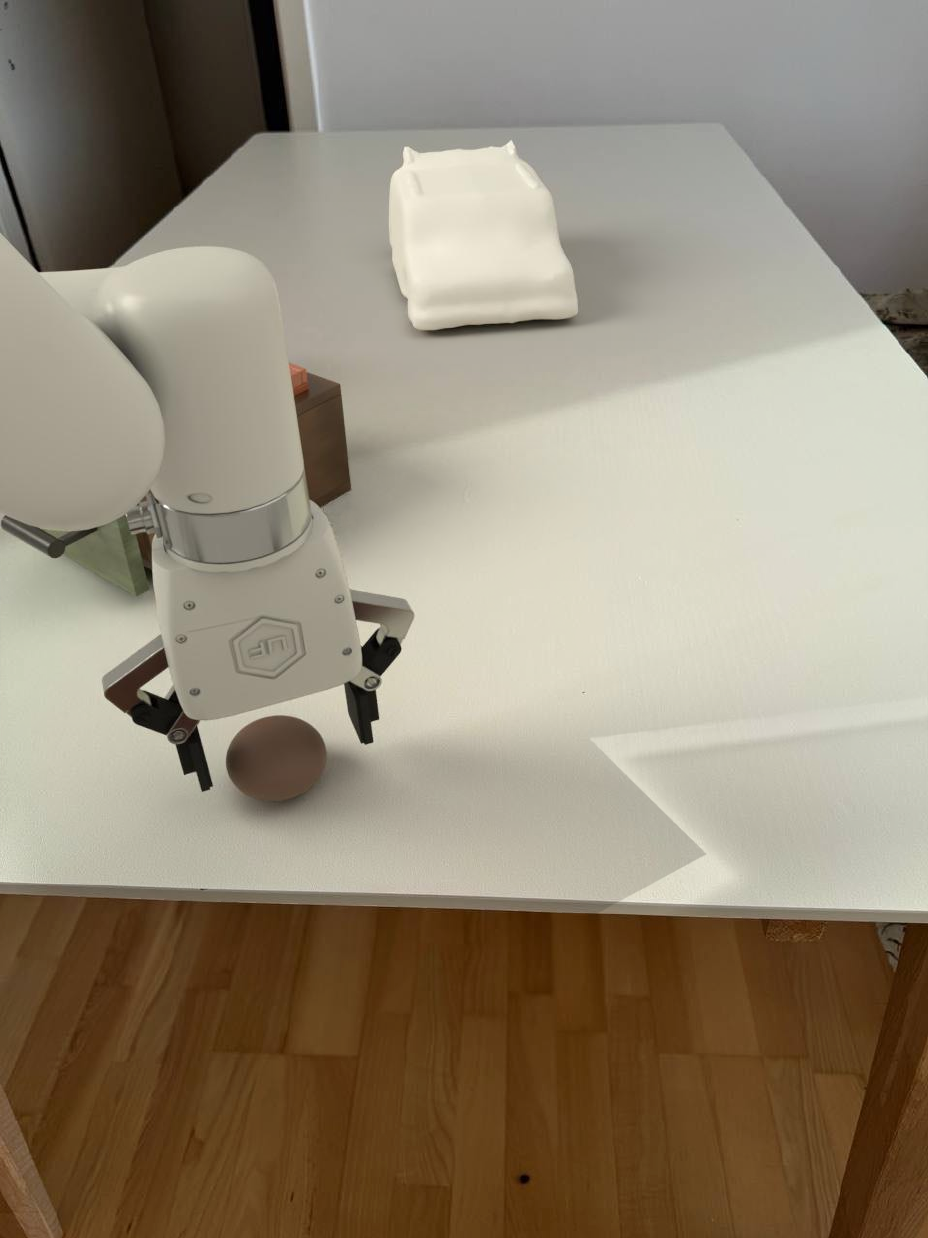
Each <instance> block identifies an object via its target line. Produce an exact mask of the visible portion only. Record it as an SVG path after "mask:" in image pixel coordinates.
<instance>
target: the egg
mask: <svg viewBox="0 0 928 1238" xmlns="http://www.w3.org/2000/svg"><path fill="white" fill-rule="evenodd" d="M327 753H328V752H327V746H326V743H325V741H324V738H323V737H322V735H321V734H320V732H319V731H318V730H317V728H315V727H314V726H313V725H312V724H310V722H309V723H308V722H307V721H305V720H303V719H301V718H298V717H295V716H292V715H283V714H281V715H280V714H279V715H278V714H277V715H275V714H274V715H269V716H268V715H267V716H264V717H261V718H258V719H256V720H253V721H251V722H249V723H248V724H247V725H245V726H244V727H242V728H241V729H240V730H239V731H238V732H237V733H236V734H235V736H234V737H233V738H232V740H231V742H230V743H229V745H228V748H227V751H226V754H225V769H226V773H227V774H228V777H229V780H230V781H231V783H232V784H233V785H234V786H235V787H236V788H237V789H238V790H239V791H240V792H241V793H243V794H244V795H246V796H248V797H250V798H253V799H255V800H258V801H259V800H260V801H264V802H282V801H286V800H290V799H293V798H296V797H298V796H300V795H302V794H304V793H305V792H307V791H308V790H310V789H311V788H312V787H313V786H314V785H315V784H316V783H317V782H318V780H319V779H320V778H321V776H322V774H323V772H324V770H325V767H326V765H327V758H328V757H327V756H328V754H327Z"/></svg>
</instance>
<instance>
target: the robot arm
mask: <svg viewBox="0 0 928 1238" xmlns="http://www.w3.org/2000/svg"><path fill="white" fill-rule="evenodd" d="M282 315H283V314H282V309H281V304H280V299H279V294H278V289H277V285H276V282H275V280H274V277H273V275H272V274H271V272H270V271H269V269H268V268H267V267H266V265H265V264H264V263H263V262H262V261H261V260H260V259H258V258H257V257H256V256H254V255H252V254H250V253H248V252H245V251H243V250H242V249H241V250H240V249H236V248H231V247H227V246H215V245H195V246H194V245H193V246H183V247H182V246H181V247H176V248H170V249H166V250H161V251H158V252H155V253H152V254H148V255H146V256H143V257H140V258H139V259H136V260H134V261H132V262H130V263H129V264H126V265H123V266H114V267H105V268H92V269H79V270H76V269H75V270H60V271H38V270H37V269H36V268H35V267H34V266H33V265H32V264H31V263H30V262H29V261H28V260H27V258H25V257H24V256H23V255H22V254H21V253H20V252H19V251H18V249H16V247H15V246H14V245H13V244H12V243H11V242H10V241H9V240H8V239H7V238H6V237H5V236H4V234H3V233H1V232H0V513H1V514H3V515H4V516H5V515H6V516H8V517H11V518H13V519H15V520H18V521H20V522H23V523H25V524H27V525H31V526H35V527H39V528H40V529H41V528H43V529H47V530H56V531H78V530H88V529H91V528H95V527H99V526H102V525H106V524H108V523H110V522H112V521H114V520H116V519H118V518H120V517H122V516H123V515H125V514H126V518H127V521H128V525H129V529H130V532H131V535H133V534H138V533H142V532H147V534H150V533H156V534H155V536H154V538H153V541H152V570H151V571H152V572H151V573H152V585H153V591H154V598H155V608H156V615H157V619H158V624H159V630H160V634H159V635H157V636H156V637H155V638H153V639H152V640H150V641H149V642H147V644H145V645H143V646H142V647H141V648H140V649H138V650H137V651H135V652H133V654H131V655H130V656H129V657H127V658H126V659H125V660H123V661H122V662H120V663H119V664H118V665H116V666H115V667H114V668H112V669H111V670H110V671H108V672H107V673H105V674H104V675H103V677H102V678H101V684H102V690H103V696H104V698H105V699H106V700H107V701H108V702H110V703H111V704H112V705H113V706H115V707H116V708H117V709H119V710H120V711H121V712H122V713H124V714H126V715H128V716H129V717H130V718H131V720H132V722H133V723H134V724H135V725H137V726H139V727H141V728H145V729H148V730H151V731H152V732H156V733H159V734H161V735H164V736H166V738H167V741H168V742H169V743H170V744H172V745H174V746H175V747H176V748H175V749H176V752H177V756H178V758H179V759H178V760H179V763H180V766H181V769H182V773H183V775H184V776H186V775H189V774H193V773H195V774H196V776H197V780H198V784H199V788H200V791H201V793H203V792H207V791H210V790H211V788H213V787H214V783H213V781H212V776H211V772H210V769H209V765H208V761H207V758H206V753H205V750H204V745H203V743H202V742H203V741H202V739H201V738H202V737H201V735H200V731H199V727H198V726H199V724H200V722H201V721H205V722H206V721H215V720H220V719H225V718H229V717H233V716H237V715H240V714H244V713H249V712H251V711H255V710H259V709H262V708H267V707H270V706H274V705H277V704H280V703H281V704H282V703H285V702H288V701H292V700H296V699H299V698H303V697H306V696H310V695H314V694H317V693H321V692H325V691H327V690H330V689H334V688H337V687H340V686H342V685H343V687H344V695H345V700H346V708H347V713H348V717H349V719H350V722H351V724H352V726H353V729H354V731H355V733H356V736H357V738H358V740H359V743H360V744H361V745H362V744H364V745H365V746H366V745H370V744H373V743H374V735H373V726H372V722H376V721H379V720H380V712H379V704H378V695H377V689H379V688H380V686H381V685H382V682H383V679H382V676H383V675H384V673H385V672H386V671H387V670H388V669H389V667H390V666H391V665H392V663H393V662H394V661H395V660H396V659H397V658H398V657H399V655H400V654H401V652H402V645H401V644H402V643H403V640H405V639H406V637H407V635H408V633H409V630H410V628H411V626H412V624H413V621H414V619H415V612H414V610H413V609H412V607H411V605H410V604H409V603H410V602H408V600H407V599H405V598H402V597H397V596H390V595H384V594H379V593H373V592H367V591H361V590H356V589H351V588H350V586H349V581H348V575H347V573H346V569H345V566H344V562H343V557H342V554H341V551H340V547H339V545H338V541H337V539H336V536H335V533H334V530H333V527H332V525H331V523H330V521H329V519H328V517H327V515H326V514H325V513H324V512H323V511H322V509H321V507H319V506H318V505H317V504H316V503H314V502H313V501H311V500H310V499H309V495H308V488H307V481H306V475H305V468H304V461H303V454H302V448H301V441H300V434H299V428H298V421H297V414H296V408H295V401H294V394H293V388H292V381H291V375H290V368H289V363H290V362H289V356H288V350H287V349H288V348H287V342H286V335H285V329H284V322H283V316H282ZM149 490H151V493H152V494H147V493H148V492H149ZM145 495H146V499H147V501H143V502H140V501H141V500H142V499H143V498H144V496H145ZM138 503H139V505H138V506H137V504H138ZM357 621H360V622H366V623H371V624H379V626H380V627H378V628H377V629H376V630H375V631H374V632H373V633H372V634H371V636H370V637H369V638H368V639H367V641H366V642H364V644H363V645H361V639H360V634H359V630H358V628H359V627H358V624H357ZM167 669H168V671H169V675H170V678H171V682H172V685H171V687H170V689H169V690H168V691H167V694H166V695H165V696H164V697H163V696H160V695H157V694H155V693H152V692H149V691H147V690H145V689H144V690H143V689H141V688H143V687H144V686H145V685H146V684H148V683H149V682H150V681H152V680H153V679H154V678H157V676H158V675H160V674H161V673H162V672H164V671H165V670H167Z"/></svg>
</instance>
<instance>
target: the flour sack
mask: <svg viewBox="0 0 928 1238" xmlns="http://www.w3.org/2000/svg"><path fill="white" fill-rule="evenodd" d="M402 158H403V163H402V165H401V167H400V168H397V169H396V170H395V171H394V172H393V174H392V175H391V178H390V184H389V197H388V235H389V236H388V238H389V244H390V247H391V249H392V253H391V261H392V266H393V268H394V271H395V275H396V278H397V282H398V285H399V289H400V292H401V295H403V297H404V298H406V299H407V317H408V319H409V321H410V322H411V324H412V326H413V328H414V329H415V330H418V331H438V330H443V329H452V328H457V327H463V326H481V325H491V324H495V325H497V324H508V323H509V324H514V323H518V322H525V321H533V320H565V319H571V318H573V317H575V316H576V315H578V314H579V305H578V304H579V300H578V299H579V298H578V295H577V289H576V284H575V283H576V282H575V274H574V270H573V267H572V266H573V265H572V264H571V262H570V261H569V259H568V257H567V256H566V254H565V251H564V249H563V247H562V244H561V240H560V236H559V229H558V224H557V216H556V209H555V206H554V200H553V195H552V193H551V192H550V191H549V189H548V188H547V186H546V185H545V184H544V183H543V182H542V180H541V179H540V178H539V175H538V174H537V172H536V170H535V169H534V168H532V166H531V165H529V163H527V162H526V161H525V160H523V159H522V158H520V157H519V156H518V151H517V149H516V146H515V143H514V142H513V140H512V139H511V140H510V141H508V142H507V143H505V144H504V145H502V146H492V145H490V146H488V147H482V148H477V149H463V148H455V149H447V150H443V151H442V150H441V151H427V152H418V151H417V150H414V149H413V148H411V147H410V146H404V147H403V152H402Z"/></svg>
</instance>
